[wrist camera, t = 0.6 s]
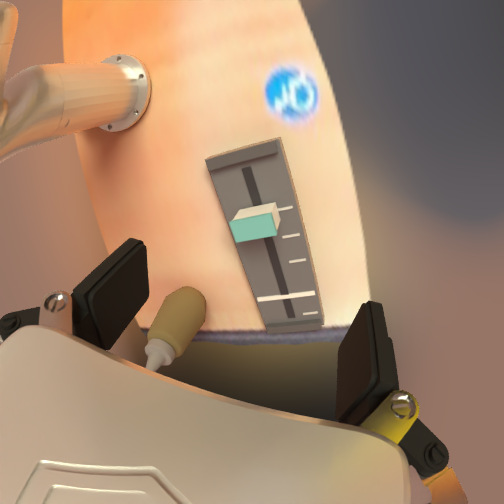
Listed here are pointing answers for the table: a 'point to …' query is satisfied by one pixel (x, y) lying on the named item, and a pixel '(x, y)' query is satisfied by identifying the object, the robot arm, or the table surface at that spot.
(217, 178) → the console board
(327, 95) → the table surface
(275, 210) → the fader knob
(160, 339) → the squeeze bottle
